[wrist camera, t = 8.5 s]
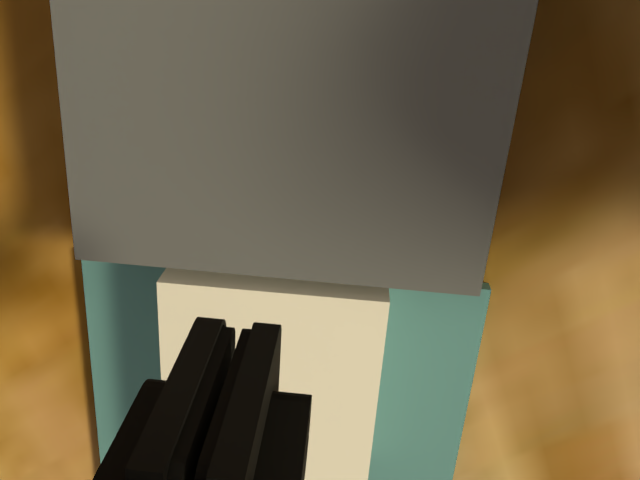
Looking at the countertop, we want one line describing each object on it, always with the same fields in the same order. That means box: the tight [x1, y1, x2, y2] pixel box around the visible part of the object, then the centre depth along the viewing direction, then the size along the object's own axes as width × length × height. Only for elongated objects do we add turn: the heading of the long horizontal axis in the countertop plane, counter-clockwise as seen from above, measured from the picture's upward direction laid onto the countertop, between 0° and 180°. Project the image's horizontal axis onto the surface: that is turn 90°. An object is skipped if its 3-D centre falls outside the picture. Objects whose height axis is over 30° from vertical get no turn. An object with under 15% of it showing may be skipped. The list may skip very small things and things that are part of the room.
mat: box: [81, 260, 491, 480], centre depth 23 cm, size 12×14×1 cm
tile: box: [156, 268, 390, 480], centre depth 21 cm, size 8×7×2 cm
